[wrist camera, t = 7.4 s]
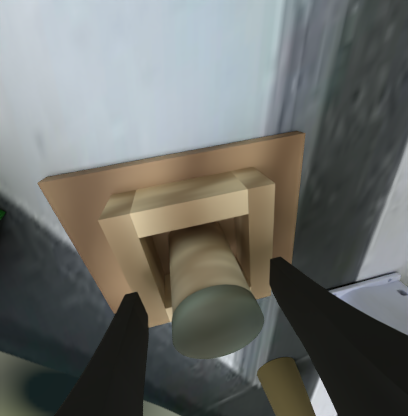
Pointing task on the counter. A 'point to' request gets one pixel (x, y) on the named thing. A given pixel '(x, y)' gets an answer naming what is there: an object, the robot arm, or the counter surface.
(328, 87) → the counter surface
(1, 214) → the milk carton
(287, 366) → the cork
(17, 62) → the counter surface
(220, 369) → the counter surface
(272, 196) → the socket board
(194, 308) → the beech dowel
